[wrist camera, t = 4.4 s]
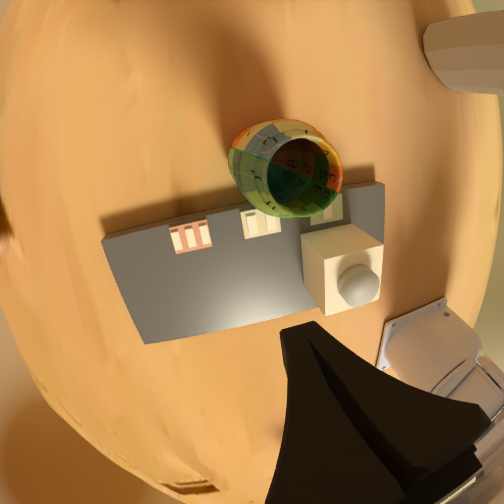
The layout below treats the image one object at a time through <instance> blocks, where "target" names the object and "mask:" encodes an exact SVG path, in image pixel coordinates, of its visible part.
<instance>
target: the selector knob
mask: <svg viewBox="0 0 504 504" xmlns="http://www.w3.org/2000/svg"><path fill="white" fill-rule="evenodd" d="M300 238H301V249H302V262H303V276H304V285H305V287H306V288H307V290H308V291H309V293H310V294H311V296H312V297H313V299H314V300H315V302H316V303H317V305H318V306H319V308H320V309H321V311H322V312H323V314H324V315H325V316H328V315H332V314H335V313H338V312H341V311H345V310H348V309H351V308H354V307H361V306H364V305H366V304H367V303H369V302H372V301H375V300H378V299H379V293H380V284H381V273H382V261H383V246H384V245H383V244H382V243H380V242H379V241H377V240H376V239H374V238H373V237H372V236H370V235H369V234H367V233H366V232H364V231H363V230H361V229H360V228H358V227H357V226H355V225H354V224H347V225H342V226H337V227H332V228H327V229H323V230H318V231H313V232H308V233H304V234H300Z"/></svg>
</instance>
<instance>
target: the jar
mask: <svg viewBox="0 0 504 504" xmlns="http://www.w3.org/2000/svg"><path fill="white" fill-rule="evenodd" d="M228 165H229V170H230V173H231V175H232V177H233V179H234V181H235V182H236V184H237V185H238V187H239V189H240V190H241V192H242V193H243V195H244V196H245V198H246V199H247V200H248V201H249V202H250V203H251V204H252V205H253V206H254V207H255V208H257V209H258V210H259V211H261V212H263V213H265V214H267V215H270V216H274V217H279V218H291V217H309V216H313V215H316V214H318V213H320V212H322V211H323V210H325V209H326V208H327V207H328V206H329V205H330V204H331V203H332V202H333V201H334V200H335V198H336V196H337V195H338V193H339V190H340V188H341V184H342V177H343V171H342V164H341V161H340V158H339V156H338V154H337V152H336V151H335V149H334V148H333V147H332V146H331V145H330V144H329V143H328V142H327V140H326V139H325V138H324V136H323V135H322V134H321V133H320V132H319V131H318V130H316V129H315V128H314V127H312V126H311V125H309V124H307V123H305V122H302V121H299V120H294V119H276V120H271V121H267V122H263V123H259V124H256V125H253V126H250V127H248V128H246V129H245V130H243V131H242V132H241V133H240V134H239V135H238V136H237V137H236V138H235V139H234V141H233V143H232V145H231V147H230V150H229V154H228Z"/></svg>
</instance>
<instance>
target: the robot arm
mask: <svg viewBox="0 0 504 504" xmlns="http://www.w3.org/2000/svg"><path fill="white" fill-rule="evenodd" d="M446 303H447V298H445V297H444V298H442V299H439V300H437V301H435V302H433V303H431V304H429V305H426V306H424V307H422V308H420V309H417V310H415V311H413V312H410V313H408V314H405V315H403V316H401V317H398V318H396V319H393V320H391V321H388V322H387V323H386V324H385V327H384V332H383V337H382V342H381V347H380V352H379V356H378V361H377V365H376V367H374V366H373V365H371V364H370V363H368V362H367V361H365V360H364V359H362V358H361V357H359V356H358V355H356V354H355V353H354V352H352V351H351V350H350V349H348V348H347V347H345V346H344V345H343V344H342V343H340V342H339V341H338V340H337V339H335V338H334V337H333V336H332V335H330V334H329V333H328V332H327V331H326V330H325V329H323V328H322V327H321V326H320V325H319V324H318V323H317V322H315V321H311V322H307V323H304V324H300V325H297V326H293V327H289V328H286V329H282V330H281V331H280V340H281V347H282V355H283V362H284V367H285V370H286V374H287V378H288V384H287V407H286V417H285V425H284V431H283V437H282V443H281V448H280V452H279V456H278V460H277V465H276V469H275V472H274V476H273V479H272V482H271V485H270V488H269V491H268V494H267V497H266V500H265V504H440V503H441V502H442V501H444V500H445V499H447V498H448V497H450V496H451V495H452V494H454V493H455V492H456V491H458V490H459V489H460V488H462V487H463V486H464V485H465V484H467V483H468V482H469V481H470V480H472V479H473V478H474V477H475V476H476V480H475V482H474V483H472V484H471V485H469V486H468V487H466V488H465V489H463V490H462V491H461V492H459V493H458V494H456V495H455V496H454V497H453V498H451V499H450V500H449V501H448V502H447V503H446V504H504V408H503V407H504V392H503V391H504V373H503V371H502V370H501V369H500V368H499V367H498V366H497V365H496V364H495V363H494V362H493V361H492V360H491V359H490V358H489V357H488V356H487V355H485V356H482V345H481V342H480V339H479V337H478V335H477V334H476V332H475V331H474V330H473V329H472V328H471V327H470V326H469V325H468V324H467V323H465V322H464V321H463V320H462V319H461V318H460V317H459V316H458V315H457V314H456V313H454V312H453V311H452V310H451V309H450V308H449V307H448V306H446ZM479 363H480V364H481V365H482V367H483V368H482V367H481V366H480V365H479ZM389 367H392V369H393V370H394V371H395V373H396V374H397V375H398V377H399V378H400V380H401V381H400V380H398V379H396V378H394V377H392V376H390V375H388V374H386V373H385V372H383V371H382V370H384V369H387V368H389ZM484 370H485V371H486V372H487V373H488V374H487V373H486V372H485V371H484ZM501 388H502V390H503V391H502V390H501ZM502 408H503V409H502ZM501 409H502V411H501V412H500V413H499V414H498V412H499V411H500V410H501ZM497 414H498V415H497ZM496 415H497V416H496ZM495 416H496V417H495ZM494 417H495V418H494ZM493 418H494V420H492V419H493ZM491 420H492V421H491Z"/></svg>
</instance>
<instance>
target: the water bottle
mask: <svg viewBox="0 0 504 504" xmlns="http://www.w3.org/2000/svg"><path fill="white" fill-rule="evenodd" d="M423 45H424V53H425V56H426V58H427V60H428V63H429V65H430V67H431V70H432V71H433V72H434V73H435V75H436V76H437V77H438V78H439V80H440V81H441V82H442V83H443V84H444V85H445V86H446V87H448V88H450V89H452V90H454V91H456V92H458V93H482V94H496V95H504V10H500V11H491V12H484V13H477V14H471V15H465V16H460V17H455V18H451V19H446V20H442V21H438V22H434V23H430V24H429V25H428V27H427V29H426V31H425V33H424V35H423Z"/></svg>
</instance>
